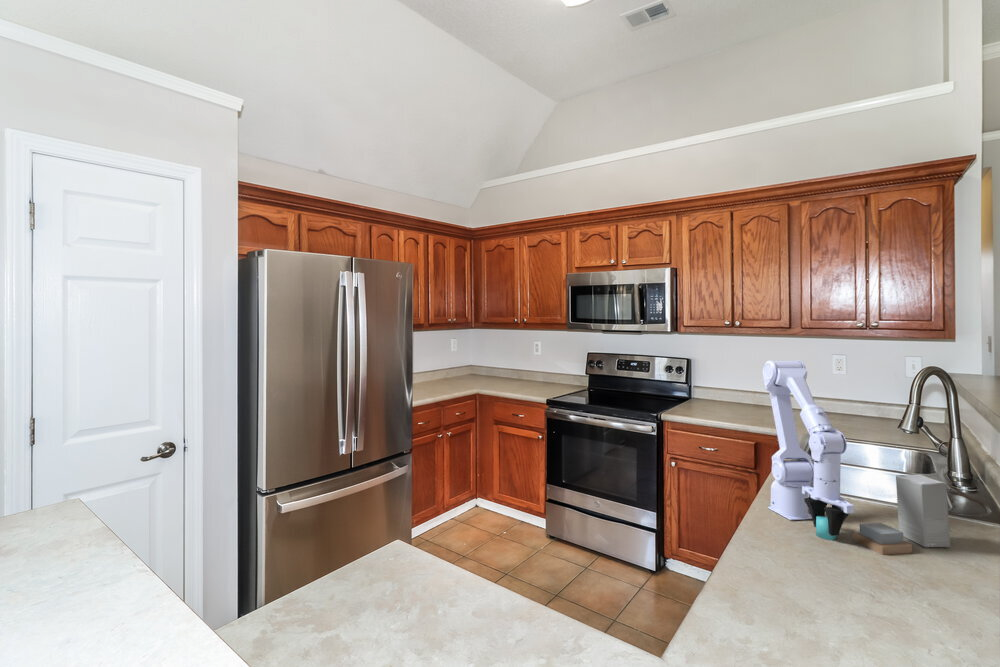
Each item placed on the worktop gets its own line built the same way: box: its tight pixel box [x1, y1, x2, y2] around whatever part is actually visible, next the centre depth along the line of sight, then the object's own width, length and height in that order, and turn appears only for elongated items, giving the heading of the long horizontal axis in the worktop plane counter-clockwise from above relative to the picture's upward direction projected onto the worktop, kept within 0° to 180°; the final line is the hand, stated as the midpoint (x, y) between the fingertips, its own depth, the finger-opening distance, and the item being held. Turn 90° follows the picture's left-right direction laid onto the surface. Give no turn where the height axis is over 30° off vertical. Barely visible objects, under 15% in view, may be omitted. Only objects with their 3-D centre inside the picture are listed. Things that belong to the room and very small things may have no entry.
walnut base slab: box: [853, 531, 913, 556], centre depth 121 cm, size 8×8×2 cm
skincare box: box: [895, 474, 951, 548], centre depth 124 cm, size 8×7×16 cm
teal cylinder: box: [815, 515, 838, 541], centre depth 127 cm, size 4×4×4 cm
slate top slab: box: [859, 522, 904, 544], centre depth 121 cm, size 6×6×2 cm
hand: (826, 530), depth 127 cm, fingers closed on teal cylinder, 4 cm apart
